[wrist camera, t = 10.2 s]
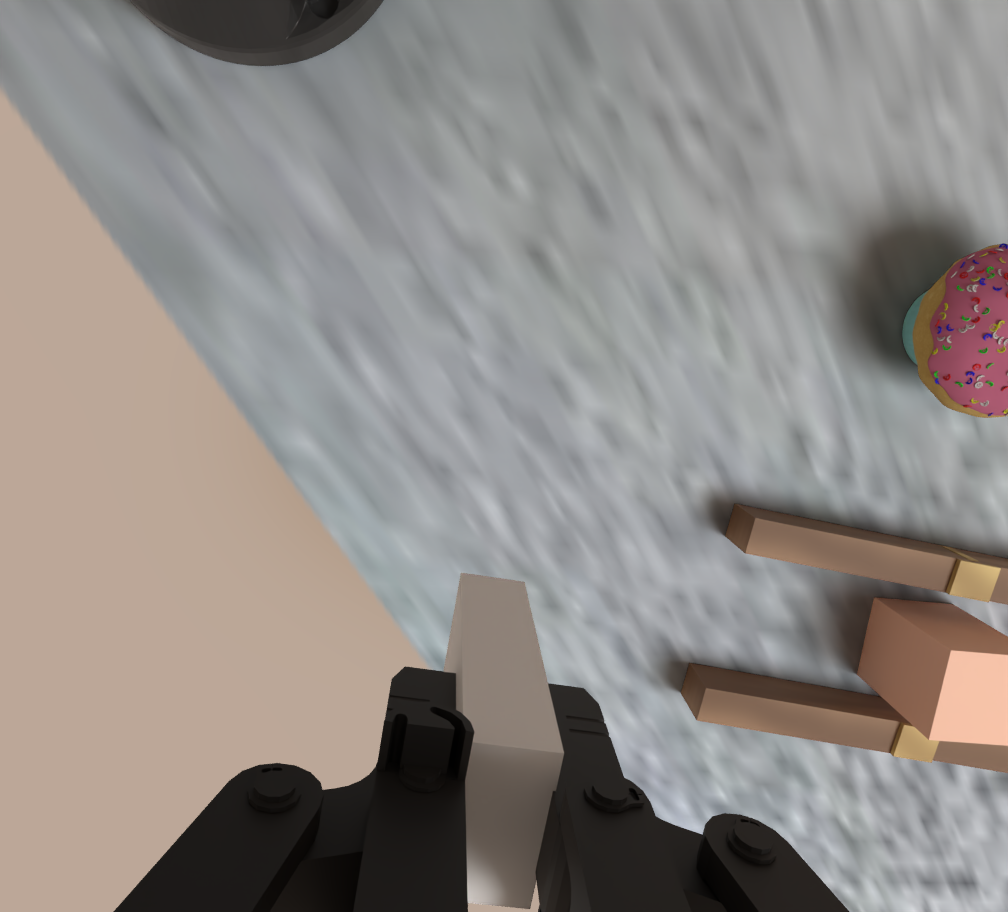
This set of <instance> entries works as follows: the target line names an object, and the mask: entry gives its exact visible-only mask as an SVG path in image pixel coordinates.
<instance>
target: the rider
mask: <svg viewBox="0 0 1008 912" xmlns="http://www.w3.org/2000/svg"><path fill="white" fill-rule="evenodd" d="M857 675H858V676H859V677H860V678H861V679H862V680H864V681H865V682H866V683H867V684H868V685H869V686H870V687H871V688H872V689H873V690H875V691H876V692H877V693H878V694H879V695H880V696H881V697H882V698H883V699H884V700H885V701H887V702H888V703H889V704H890V705H891V706H892V707H893V708H894V709H895V710H896V711H898V712H899V713H900V714H901V715H902V716H903V717H904V718H905V719H906V720H907V721H909V722H910V723H911V724H912V725H913V726H914V727H915V728H916V729H917V730H918V731H919V732H921V733H922V734H923V735H924V736H925V737H926V738H927V739H928V740H935V741H949V742H963V743H977V744H990V745H1004V746H1008V637H1007V636H1005V635H1004V634H1002V633H1000V632H999V631H997V630H995V629H994V628H992V627H990V626H989V625H987V624H985V623H984V622H982V621H980V620H979V619H977V618H975V617H973V616H972V615H970V614H968V613H967V612H965V611H963V610H962V609H960V608H958V607H957V606H955V605H953V604H944V603H933V602H922V601H911V600H900V599H888V598H877V597H874V600H873V604H872V609H871V613H870V618H869V622H868V627H867V631H866V636H865V640H864V645H863V649H862V654H861V658H860V663H859V667H858V672H857Z"/></svg>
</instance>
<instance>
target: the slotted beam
mask: <svg viewBox="0 0 1008 912" xmlns="http://www.w3.org/2000/svg"><path fill="white" fill-rule="evenodd" d="M725 537H727V538H728V539H729V540H730V541H731V542H732V543H734V544H735V545H736V546H737V547H738V548H740V549H741V550H742V551H743V552H744V553H746V554H751V555H757V556H762V557H767V558H772V559H777V560H782V561H787V562H792V563H798V564H803V565H808V566H813V567H818V568H823V569H828V570H833V571H838V572H844V573H849V574H854V575H859V576H864V577H869V578H874V579H879V580H884V581H890V582H895V583H900V584H905V585H910V586H915V587H920V588H925V589H930V590H936V591H941V592H946V593H948V594H949V595H954V596H959V597H964V598H970V599H975V600H980V601H985V602H989V601H992V602H997V603H1002V604H1007V605H1008V559H1006V558H1001V557H996V556H991V555H986V554H981V553H976V552H971V551H967V550H962V549H957V548H952V547H947V546H942V545H937V544H932V543H927V542H922V541H917V540H912V539H907V538H902V537H897V536H893V535H888V534H883V533H878V532H873V531H868V530H863V529H858V528H853V527H848V526H843V525H838V524H833V523H828V522H823V521H819V520H814V519H809V518H804V517H799V516H794V515H789V514H784V513H779V512H774V511H769V510H764V509H759V508H754V507H749V506H744V505H740V504H734V507H733V511H732V514H731V518H730V521H729V525H728V528H727V532H726V535H725ZM681 694H682V696H683V698H684V699H685V701H686V703H687V705H688V706H689V708H690V710H691V711H692V713H693V715H694V716H695V718H696V720H698V721H704V722H709V723H715V724H721V725H727V726H733V727H739V728H745V729H751V730H757V731H763V732H769V733H774V734H780V735H786V736H792V737H798V738H804V739H810V740H816V741H822V742H828V743H834V744H839V745H845V746H851V747H857V748H863V749H869V750H875V751H881V752H887V753H891V754H892V755H893V756H895V757H901V758H907V759H913V760H919V761H925V762H931V763H932V760H934V761H940V762H946V763H952V764H958V765H964V766H969V767H975V768H981V769H987V770H993V771H999V772H1005V773H1008V746H1004V745H990V744H977V743H963V742H949V741H935V740H928V739H927V738H926V737H925V736H924V735H923V734H922V733H921V732H919V731H918V730H917V729H916V728H915V727H914V726H913V725H912V724H911V723H910V722H909V721H907V720H906V719H905V718H904V717H903V716H902V715H901V714H900V713H899V712H898V711H896V710H895V709H894V708H893V707H892V706H891V705H890V704H889V703H888V702H887V701H885V700H884V699H883V698H882V697H879V696H874V695H868V694H862V693H857V692H851V691H846V690H840V689H834V688H829V687H823V686H817V685H812V684H806V683H801V682H795V681H789V680H784V679H778V678H772V677H767V676H761V675H755V674H750V673H744V672H739V671H733V670H727V669H722V668H716V667H710V666H705V665H699V664H694V663H689V666H688V669H687V673H686V676H685V680H684V684H683V687H682V691H681Z"/></svg>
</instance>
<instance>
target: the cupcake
mask: <svg viewBox="0 0 1008 912" xmlns="http://www.w3.org/2000/svg"><path fill="white" fill-rule="evenodd" d="M902 338H903V344H904V347H905V350H906V352H907V354H908V356H909V357H910V359H911V360H912V361H913V362H914V363H915V364H916V365H918V374H919V377H920V379H921V381H922V382H923V383H924V384H925V386H926V387H927V388H928V389H929V390H930V391H931V392H932V393H933V394H934V395H935V397H936V398H937V399H938V400H939V401H940V402H941V403H942V404H943V405H944V406H946V407H948V408H950V409H952V410H955V411H959V412H962V413H966V414H969V415H972V416H976V417H984V418H989V417H1003V416H1008V244H999V245H993V246H989V247H986V248H984V249H982V250H980V251H977V252H975V253H972V254H970V255H968V256H966V257H964V258H961V259H959V260H957V261H956V262H955V263H954V264H953V265H952V266H951V267H950V268H949V269H948V271H947V272H946V273H945V274H944V275H943V276H942V277H941V278H940V279H939V280H938V281H937V282H936V283H935V284H934V285H933V286H932V287H931V288H930V289H929V290H928V291H926V292H925V293H923V294H922V295H921V296H920V297H918V298H917V299H916V301H915V302H914V303H913V304H912V306H911V307H910V309H909V310H908V312H907V314H906V317H905V320H904V323H903V329H902Z"/></svg>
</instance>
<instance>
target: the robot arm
mask: <svg viewBox="0 0 1008 912" xmlns="http://www.w3.org/2000/svg"><path fill="white" fill-rule="evenodd" d="M130 1H131V2H132V3H133V4H134V5H135V6H136V7H137V8H138V9H139V10H140V11H141V12H142V13H143V14H144V15H146V16H147V17H148V18H149V19H150V20H151V21H152V22H153V23H154V24H156V25H157V26H158V27H159V28H160V29H162V30H163V31H164V32H166V33H167V34H168V35H170V36H171V37H173V38H174V39H176V40H178V41H179V42H181V43H183V44H184V45H186V46H188V47H190V48H192V49H194V50H196V51H198V52H200V53H203V54H205V55H208V56H211V57H213V58H216V59H220V60H223V61H227V62H232V63H237V64H243V65H253V66H274V65H283V64H289V63H294V62H299V61H302V60H306V59H309V58H312V57H314V56H317V55H319V54H322V53H324V52H326V51H328V50H330V49H332V48H333V47H335V46H337V45H339V44H340V43H342V42H343V41H344V40H346V39H347V38H349V37H350V36H351V35H352V34H354V33H355V32H356V31H357V30H358V29H359V28H361V27H362V26H363V25H364V24H365V23H366V22H367V21H368V19H369V18H370V17H371V16H372V15H373V14H374V13H375V11H376V10H377V9H378V7H379V6H380V5H381V3H382V2H383V0H130ZM536 880H537V887H538V895H539V902H540V905H539V909H538V912H849V911H848V910H847V909H846V907H845V906H844V905H843V904H842V903H841V902H840V901H839V900H838V898H837V897H836V896H835V895H834V894H833V893H832V892H831V890H830V889H829V888H828V887H827V886H826V885H825V884H824V883H823V881H822V880H821V879H820V878H819V877H818V876H817V875H816V873H815V872H814V871H813V870H812V869H811V868H810V867H809V866H808V864H807V863H806V862H805V861H804V860H803V859H802V858H801V856H800V855H799V854H798V853H797V852H796V851H795V850H794V849H793V847H792V846H791V845H790V844H789V843H788V842H787V841H786V840H785V839H784V838H783V837H781V836H780V835H779V834H778V833H777V832H776V831H775V830H773V829H772V828H770V827H768V826H766V825H765V824H763V823H761V822H760V821H758V820H755V819H753V818H749V817H746V816H743V815H737V814H726V813H724V814H720V815H717V816H713V817H712V818H711V819H710V820H709V821H708V822H707V823H706V824H705V828H704V832H703V835H701V834H699V833H696V832H693V831H690V830H687V829H684V828H681V827H678V826H675V825H673V824H670V823H668V822H666V821H663V820H661V819H659V818H658V817H656V816H655V813H654V811H653V808H652V805H651V803H650V801H649V799H648V798H647V796H646V795H645V793H644V792H643V791H642V790H641V789H640V788H639V787H638V786H636V785H635V784H634V783H633V782H632V781H630V780H628V779H626V778H624V776H623V773H622V770H621V767H620V764H619V762H618V759H617V756H616V753H615V750H614V747H613V744H612V741H611V738H610V737H609V732H608V730H607V727H606V724H605V723H604V718H603V715H602V712H601V709H600V706H599V704H598V703H597V702H596V701H595V700H594V699H593V697H592V696H591V695H590V694H589V693H588V692H587V691H586V690H585V689H584V688H578V687H571V686H563V685H556V684H548V682H547V677H546V673H545V669H544V665H543V660H542V656H541V652H540V647H539V643H538V639H537V634H536V630H535V626H534V621H533V617H532V613H531V608H530V604H529V600H528V596H527V591H526V587H525V583H524V582H521V581H515V580H508V579H501V578H494V577H487V576H480V575H473V574H467V573H461V576H460V581H459V587H458V592H457V598H456V604H455V609H454V615H453V621H452V626H451V632H450V638H449V643H448V649H447V655H446V660H445V666H444V672H442V671H435V670H427V669H420V668H412V667H404V668H403V669H402V670H401V671H400V672H399V673H398V674H397V675H396V676H394V677H393V679H392V682H391V687H390V693H389V699H388V705H387V711H386V717H385V721H384V726H383V732H382V738H381V744H380V751H379V757H378V762H377V764H376V767H375V768H374V770H373V771H372V772H371V773H370V774H369V775H368V776H367V777H365V778H364V779H362V780H361V781H359V782H357V783H354V784H351V785H349V786H345V787H340V788H335V789H327V790H322V787H321V783H320V781H319V780H317V778H315V776H314V775H312V774H311V772H308V771H306V770H304V769H302V768H300V767H297V766H294V765H287V764H280V763H274V764H264V765H258V766H255V767H252V768H249V769H247V770H244V771H242V772H241V773H239V774H238V775H237V776H235V777H234V778H233V779H231V780H230V781H229V782H228V783H227V784H226V785H225V786H224V787H223V789H222V790H221V791H220V792H219V793H218V794H217V795H216V797H215V798H214V799H213V800H212V801H211V802H210V803H209V804H208V806H207V807H206V808H205V809H204V810H203V811H202V812H201V814H200V815H199V816H198V817H197V818H196V819H195V820H194V821H193V823H192V824H191V825H190V826H189V827H188V828H187V829H186V830H185V832H184V833H183V834H182V835H181V836H180V837H179V838H178V839H177V841H176V842H175V843H174V844H173V845H172V846H171V847H170V849H169V850H168V851H167V852H166V853H165V854H164V855H163V856H162V858H161V859H160V860H159V861H158V862H157V864H155V866H154V867H153V868H152V869H151V870H150V871H149V872H148V873H147V875H146V876H145V877H144V878H143V879H142V880H141V881H140V882H139V884H138V885H137V886H136V887H135V888H134V889H133V890H132V892H131V893H130V894H129V895H128V896H127V897H126V898H125V900H124V901H123V902H122V903H121V904H120V905H119V906H118V907H117V908H116V910H115V911H114V912H468V903H475V904H485V905H495V906H505V907H515V908H525V909H530V906H531V902H532V897H533V893H534V888H535V884H536Z"/></svg>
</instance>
